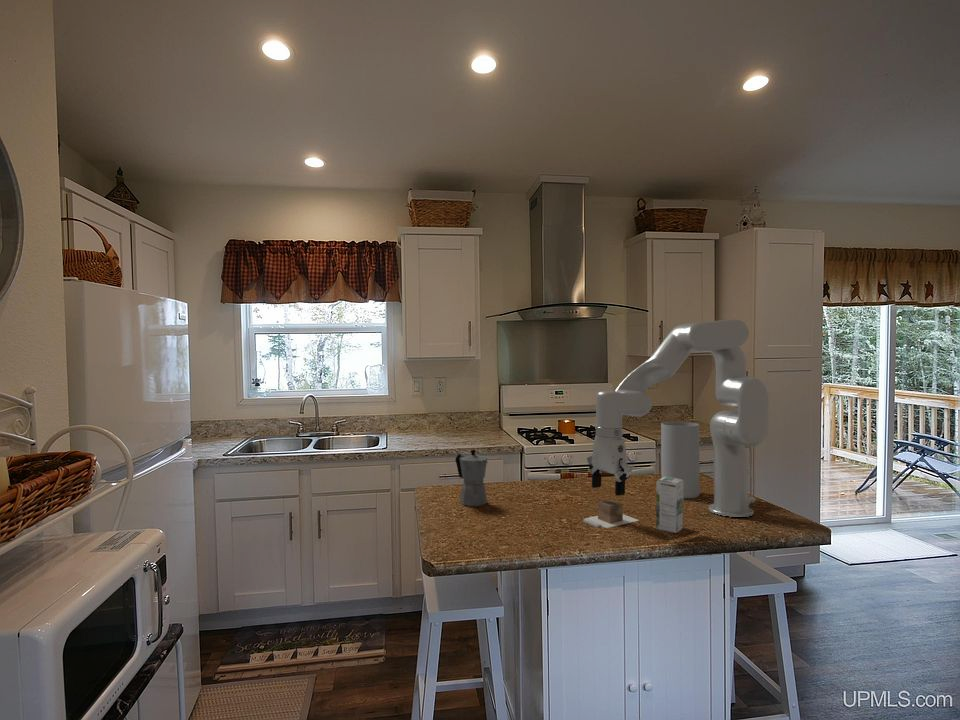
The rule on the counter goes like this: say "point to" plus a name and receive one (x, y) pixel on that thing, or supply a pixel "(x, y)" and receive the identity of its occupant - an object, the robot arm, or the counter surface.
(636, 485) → the counter surface
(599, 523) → the clipboard
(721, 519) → the counter surface
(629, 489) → the counter surface
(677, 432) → the cylinder vase
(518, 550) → the counter surface
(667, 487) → the syrup box
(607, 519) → the walnut block
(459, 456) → the coffeepot
